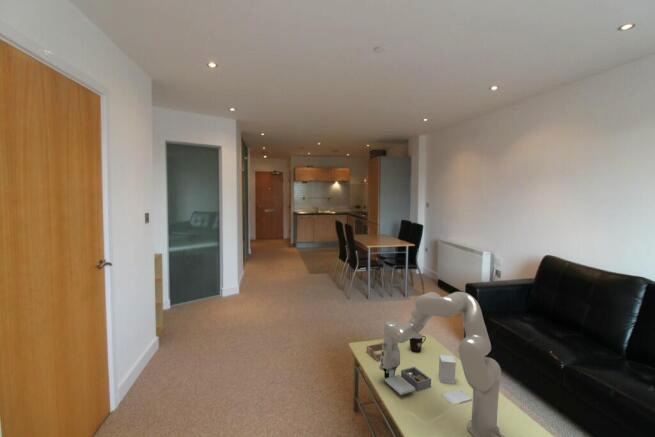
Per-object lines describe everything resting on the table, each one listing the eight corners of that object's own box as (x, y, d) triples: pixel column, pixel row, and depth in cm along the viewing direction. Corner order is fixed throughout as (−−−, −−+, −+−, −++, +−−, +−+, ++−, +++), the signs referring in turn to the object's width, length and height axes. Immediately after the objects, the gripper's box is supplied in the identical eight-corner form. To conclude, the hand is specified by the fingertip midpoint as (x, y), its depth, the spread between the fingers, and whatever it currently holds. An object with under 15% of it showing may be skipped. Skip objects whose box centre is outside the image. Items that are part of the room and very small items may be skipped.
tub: (430, 388, 162) (431, 378, 162) (417, 392, 158) (417, 383, 158) (413, 375, 174) (414, 366, 173) (400, 378, 170) (401, 370, 169)
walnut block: (425, 385, 162) (425, 378, 162) (420, 388, 160) (420, 381, 160) (419, 382, 166) (419, 374, 165) (414, 384, 163) (414, 377, 163)
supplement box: (455, 386, 164) (456, 362, 163) (440, 384, 166) (441, 361, 165) (452, 378, 171) (453, 356, 171) (438, 376, 173) (439, 354, 172)
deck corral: (393, 357, 193) (393, 351, 192) (377, 361, 188) (377, 355, 187) (382, 348, 204) (382, 342, 203) (366, 352, 199) (366, 346, 198)
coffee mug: (410, 353, 198) (410, 338, 197) (407, 347, 207) (407, 332, 206) (428, 354, 198) (429, 338, 197) (424, 347, 206) (425, 332, 206)
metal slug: (413, 379, 168) (414, 373, 168) (409, 381, 167) (409, 374, 166) (410, 376, 170) (410, 370, 170) (405, 378, 169) (405, 371, 169)
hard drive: (459, 389, 160) (440, 393, 156) (472, 398, 152) (452, 404, 148) (459, 392, 160) (440, 397, 156) (472, 401, 152) (452, 407, 148)
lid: (415, 390, 155) (415, 381, 155) (400, 395, 151) (400, 386, 151) (393, 372, 170) (394, 364, 170) (380, 376, 167) (380, 368, 166)
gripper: (381, 351, 159) (380, 385, 160) (407, 345, 166) (406, 378, 167) (373, 344, 165) (372, 378, 167) (398, 339, 172) (397, 371, 174)
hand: (389, 377), depth 167 cm, fingers closed on lid, 3 cm apart
